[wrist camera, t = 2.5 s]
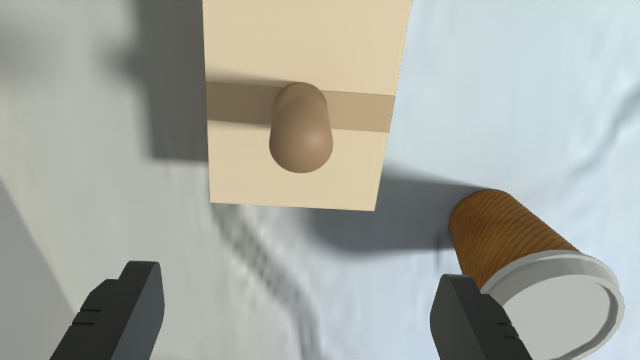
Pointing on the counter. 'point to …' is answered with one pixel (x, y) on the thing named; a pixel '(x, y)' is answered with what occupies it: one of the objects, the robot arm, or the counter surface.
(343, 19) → the lid
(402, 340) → the counter surface
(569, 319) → the disposable coffee cup
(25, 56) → the counter surface
